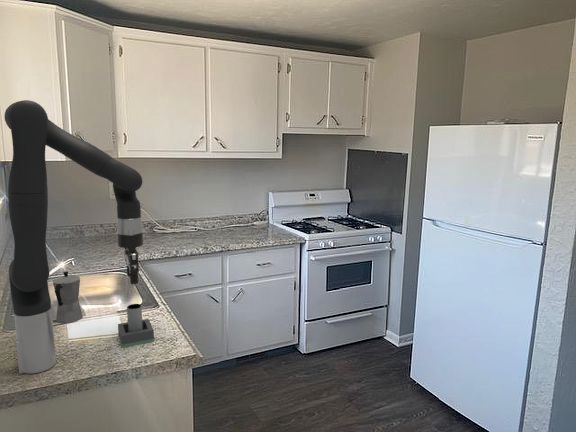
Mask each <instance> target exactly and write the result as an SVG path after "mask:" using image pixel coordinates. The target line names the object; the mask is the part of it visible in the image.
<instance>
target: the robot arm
mask: <svg viewBox="0 0 576 432" xmlns="http://www.w3.org/2000/svg"><path fill="white" fill-rule="evenodd" d="M4 121H5V124H6V126H7V127H8V128H9V130H10V132H11V140H12V161H11V165H10V166H11V167H10V171H9V176H8V177H9V178H8V187H7V198H8V199H7V200H8V201H7V202H8V203H7V204H8V212H9V213H8V214H9V220H10V226H11V230H12V234H13V243H14V248H13V249H14V251H13V260H12V261H11V262H10V264H9V267H8V278H9V286H10V287H9V289H10V295H11V301H12V309H13V316H14V317H13V319H14V325H15V326H14V327H15V336H16V340H15V348H16V350H15V351H16V357H17V364H18V365H17V366H18V374H19V375H20V374H39V373H42V372H45V371H47V370H50V369H51V368H53V367H54V366H55V365H56V363H57V354H56V345H55V343H56V342H55V335H54V334H55V333H54V323H53V314H52V313H53V311H52V300H51V295H50V291H49V284H48V283H49V282H48V280H49V278H50V267H49V261H48V260H49V259H48V253H47V252H48V251H47V244H46V243H47V239H46V237H47V230H48V229H47V227H48V211H49V210H48V207H49V199H48V198H49V196H48V195H49V194H48V193H49V192H48V191H49V190H48V177H47V176H48V174H47V172H48V171H47V164H46V147H49V148H51V149H52V150H54V151H56V152H58V153H60V154H61V155H62V156H65V157H66V158H68V159H70V160H71V161H72V162H74V163H76V164H78V165H79V166H81V167H82V168H84V169H85V170H87V171H89V172H91V173H93V174H94V175H96V176H98V177H100V178H104V179H106V180H107V181H109V182H111V183H112V187H113V194H114V198H115V201H116V213H117V215H116V216H117V220H116V221H117V223H116V227H117V228H116V229H117V230H116V232H117V246H118V247H119V248H121V249H124V251H123V254H124V262H125V265H126V275H127V277H129V278H130V285H138V284H139V275H138V274H139V273H140V267H139V265H140V262H139V252H138V250H137V248H139V247H141V246H143V244H144V239H143V237H144V236H143V221H142V213H141V210H142V209H141V203H140V200H139V199H138V198H137V193H136V191H138V190H140V189H141V187H142V185H143V176H141V173H140V172H138V171H137V170H136V169H134V168H133V167H131V166H129V165H126V163H123V162H121V161H119V160H117V159H116V158H114V157H112V156H111V155H110V154H108V153H107V152H105V151H103V150H102V149H100V148H98V147H97V146H96V145H93V144H91V143H90V142H88V141H85V140H83V139H82V138H80V137H78V136H75V135H73V134H72V133H70V132H68V131H66V130H65V129H62V128H61V127H60V126H58V125H57V124H55V122H53V121H52V120H50V119H49V117H48V113H47V111H46V109H45V108H44V107H43V106H42V105H41V104H40V103H37V102H35V101H33V100H30V99H29V100H27V99H26V100H20V101H19V100H18V101H16V102H13V103H11V104H10V105H9V106H8V107H7V108H6V109H5V112H4Z"/></svg>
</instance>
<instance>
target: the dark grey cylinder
mask: <svg viewBox="0 0 576 432" xmlns="http://www.w3.org/2000/svg"><path fill="white" fill-rule="evenodd" d="M142 309H143V308H142V304H140V303H132V304H129V305H127V307H126V313H127V318H126V319H127V322H128V333H130V332H136V331H141V330H143V325H142V320H143V310H142Z"/></svg>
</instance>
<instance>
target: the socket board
mask: <svg viewBox="0 0 576 432" xmlns="http://www.w3.org/2000/svg"><path fill="white" fill-rule="evenodd" d="M142 325H143V330H141V331H136V332H130V333H128V321H127V322H121V323H117V332H118V339H119V343H120V346H121V348H128V347H135V346H139V345H143V344H149V343H153V342H155V333H154V332H155V331H154V328H153V326H152V324H151V322H150V319H149V318H145V319H142Z"/></svg>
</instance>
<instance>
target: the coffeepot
mask: <svg viewBox="0 0 576 432" xmlns="http://www.w3.org/2000/svg"><path fill="white" fill-rule="evenodd" d="M80 284H81V277H80V276H79V275H76V274H69V271H68V270H67V271H63V275H62V276H59V277H57V278H54V279H52V285H53V289H54V294H55V296H56V300H57V310H56V318H55V319H56V320H55V321H56V323H58V324H71V323H72V324H73V323H74V322H75V323H76V322H78V321H80V320H81V319H83V312H82V309H81V305H80V300H79V296H80Z"/></svg>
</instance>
